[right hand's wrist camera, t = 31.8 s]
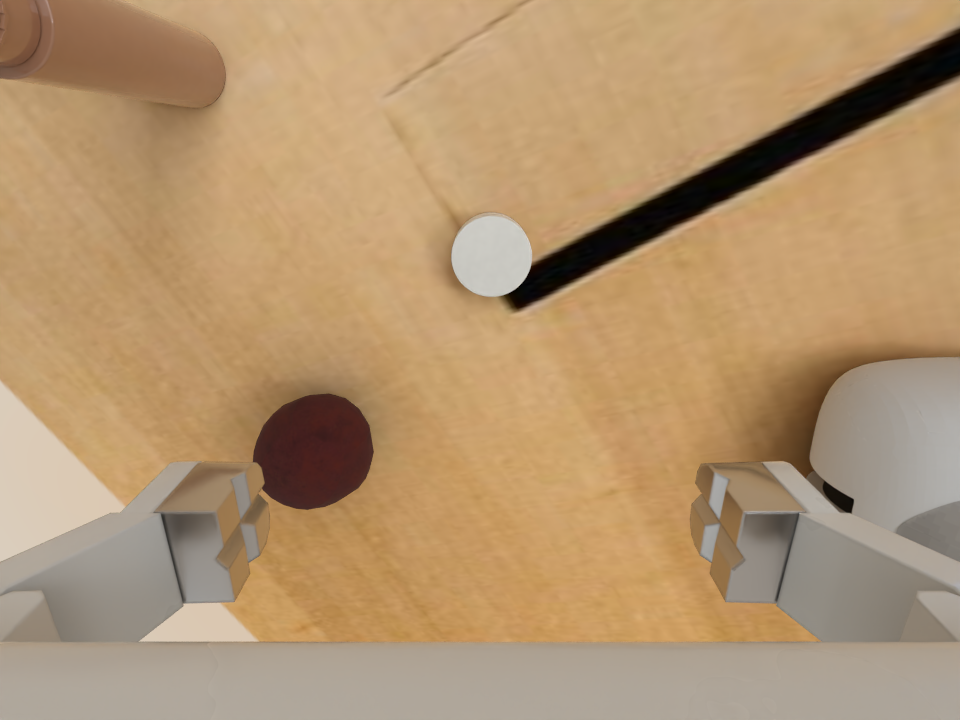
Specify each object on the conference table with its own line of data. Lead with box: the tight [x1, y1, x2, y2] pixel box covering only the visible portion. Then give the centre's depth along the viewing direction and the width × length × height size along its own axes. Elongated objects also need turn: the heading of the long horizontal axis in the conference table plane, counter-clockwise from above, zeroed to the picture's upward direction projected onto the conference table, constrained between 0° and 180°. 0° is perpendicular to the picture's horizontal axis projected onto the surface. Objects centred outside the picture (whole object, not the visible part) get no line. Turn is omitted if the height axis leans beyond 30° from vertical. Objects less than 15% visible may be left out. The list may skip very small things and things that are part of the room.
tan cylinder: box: [0, 0, 225, 108], centre depth 24 cm, size 4×4×15 cm
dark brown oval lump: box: [253, 394, 374, 510], centre depth 36 cm, size 7×8×7 cm
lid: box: [451, 212, 532, 297], centre depth 34 cm, size 5×5×2 cm
